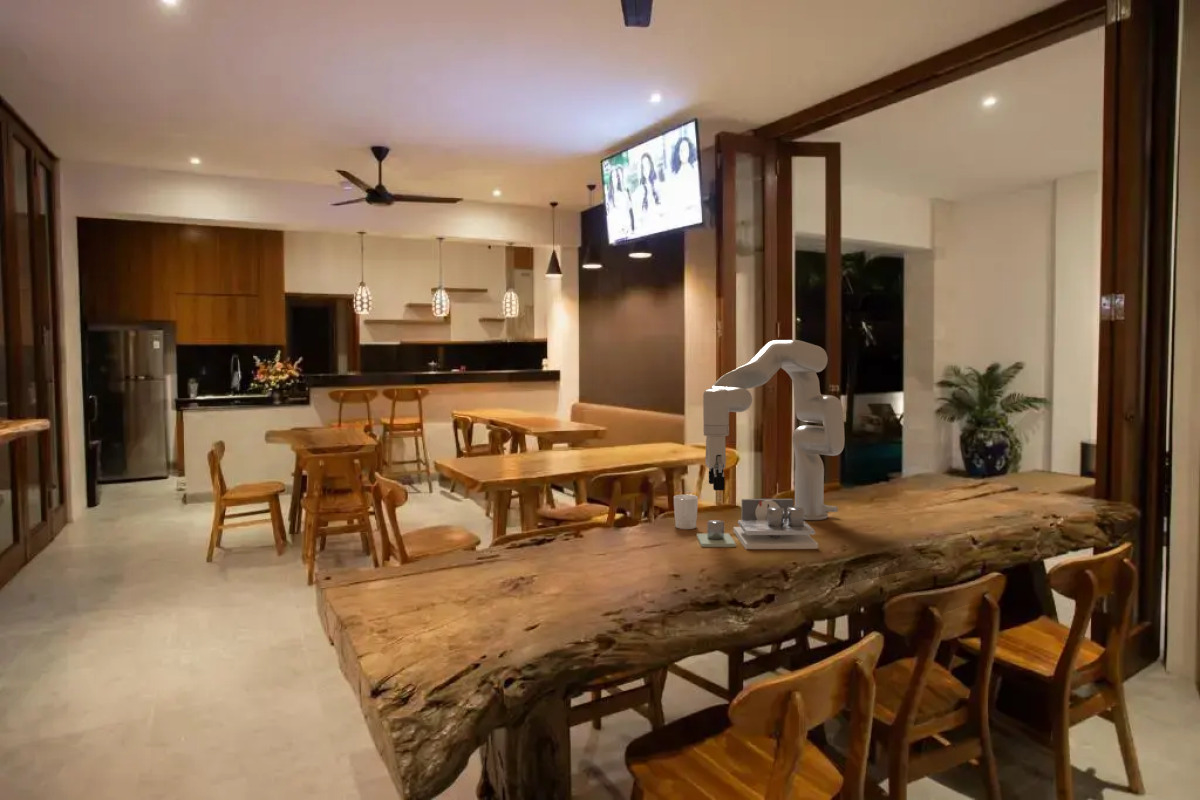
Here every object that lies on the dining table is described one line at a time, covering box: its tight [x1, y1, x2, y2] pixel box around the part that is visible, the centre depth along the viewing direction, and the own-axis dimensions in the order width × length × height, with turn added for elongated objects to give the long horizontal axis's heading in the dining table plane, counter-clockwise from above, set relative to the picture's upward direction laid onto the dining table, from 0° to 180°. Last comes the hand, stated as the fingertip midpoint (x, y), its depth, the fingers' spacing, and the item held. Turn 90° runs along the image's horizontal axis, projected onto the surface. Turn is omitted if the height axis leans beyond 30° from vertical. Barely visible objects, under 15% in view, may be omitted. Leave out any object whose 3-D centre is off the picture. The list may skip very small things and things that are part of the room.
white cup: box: [673, 494, 699, 530], centre depth 246 cm, size 8×8×10 cm
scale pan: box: [737, 519, 816, 536], centre depth 227 cm, size 20×14×1 cm
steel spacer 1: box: [767, 507, 784, 527], centre depth 226 cm, size 5×5×5 cm
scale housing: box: [732, 498, 819, 550], centre depth 229 cm, size 21×21×10 cm
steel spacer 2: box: [787, 506, 805, 527], centre depth 226 cm, size 5×5×5 cm
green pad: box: [696, 532, 737, 548], centre depth 227 cm, size 10×12×1 cm
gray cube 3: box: [706, 519, 725, 540], centre depth 227 cm, size 5×5×5 cm
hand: (716, 486), depth 226 cm, fingers open, 9 cm apart
